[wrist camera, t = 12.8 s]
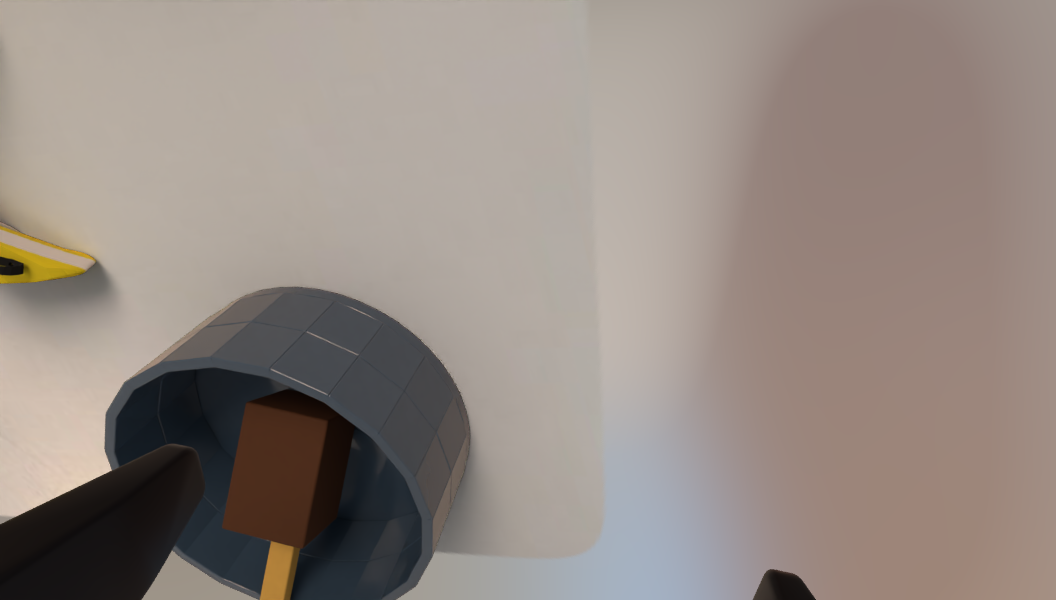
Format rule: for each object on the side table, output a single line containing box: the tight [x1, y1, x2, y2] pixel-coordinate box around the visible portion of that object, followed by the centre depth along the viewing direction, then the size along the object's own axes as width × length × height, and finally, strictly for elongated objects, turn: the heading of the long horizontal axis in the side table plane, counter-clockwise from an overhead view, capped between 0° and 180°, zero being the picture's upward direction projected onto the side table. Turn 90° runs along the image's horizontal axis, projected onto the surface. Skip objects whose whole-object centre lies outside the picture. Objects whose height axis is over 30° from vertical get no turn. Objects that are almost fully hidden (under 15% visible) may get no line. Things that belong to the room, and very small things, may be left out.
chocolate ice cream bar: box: [222, 389, 355, 600], centre depth 23 cm, size 3×9×3 cm, turn 172°
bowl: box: [104, 287, 470, 600], centre depth 23 cm, size 12×12×5 cm
